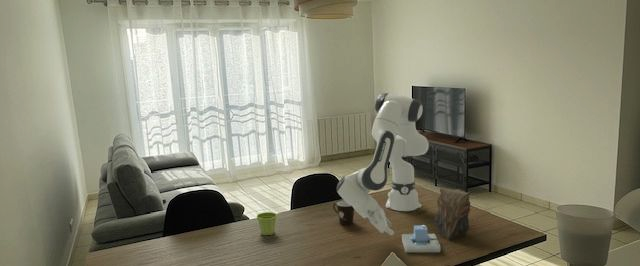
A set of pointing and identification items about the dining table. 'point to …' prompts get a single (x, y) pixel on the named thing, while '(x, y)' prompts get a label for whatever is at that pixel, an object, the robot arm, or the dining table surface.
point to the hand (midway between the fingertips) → (391, 229)
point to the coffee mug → (344, 213)
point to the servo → (420, 234)
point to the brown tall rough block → (452, 213)
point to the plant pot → (267, 222)
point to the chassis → (420, 244)
